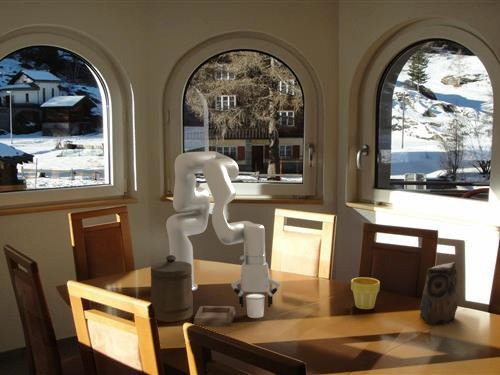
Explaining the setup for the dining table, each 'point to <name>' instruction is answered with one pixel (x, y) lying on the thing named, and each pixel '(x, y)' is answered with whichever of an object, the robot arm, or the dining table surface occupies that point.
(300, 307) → the dining table surface
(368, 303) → the plant pot
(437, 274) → the owl
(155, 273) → the wooden container
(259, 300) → the white cup
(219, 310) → the square wooden tray
